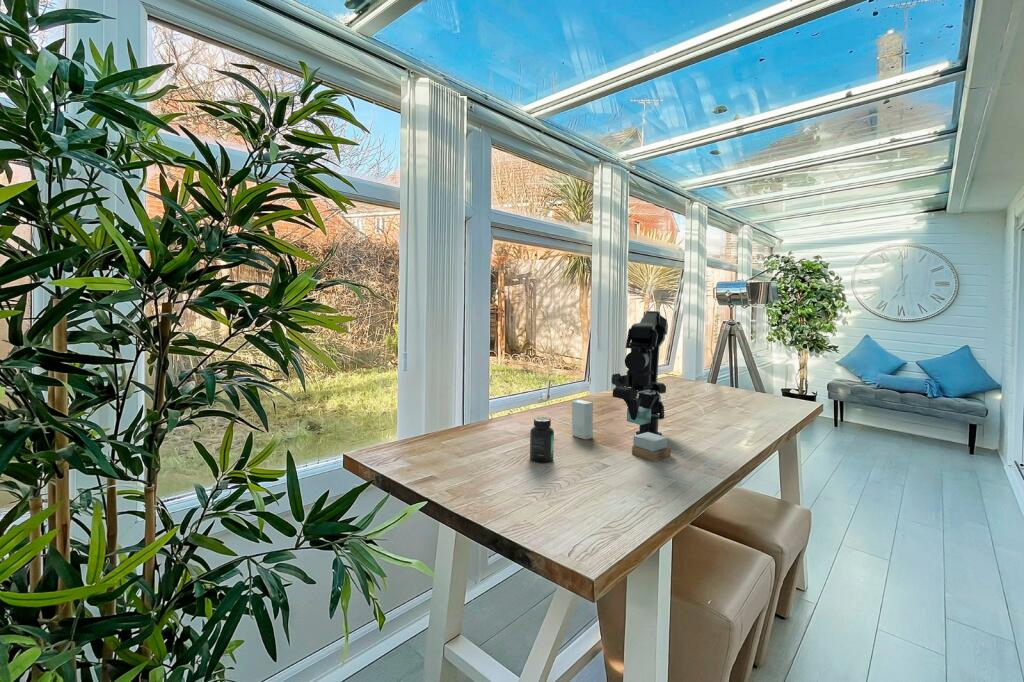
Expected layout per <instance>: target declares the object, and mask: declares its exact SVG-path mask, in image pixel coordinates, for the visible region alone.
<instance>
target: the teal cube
mask: <svg viewBox="0 0 1024 682" xmlns="http://www.w3.org/2000/svg"><path fill="white" fill-rule="evenodd" d="M626 422H628V423H630V424H636V425H639V426H640V425H643V424H646V423H650V422H651V409H648V408H644V407H639V409H638V413H637V416H636V419H635V420H632V419H631V416H630V413H629V410H628V407H627V409H626Z"/></svg>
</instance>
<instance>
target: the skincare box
mask: <svg viewBox="0 0 1024 682" xmlns="http://www.w3.org/2000/svg"><path fill="white" fill-rule="evenodd" d="M593 417H594V404H593V402H591V401H588V400H583V399H577V400H576V399H575V400H573V401H571V431H572V432H571V435H572V436H573V437H575V438H580V439H582V440H590V439H592V438H593V436H594V433H593V432H594V427H593V426H594V423H593V422H594V419H593Z"/></svg>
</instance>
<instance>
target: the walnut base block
mask: <svg viewBox="0 0 1024 682" xmlns="http://www.w3.org/2000/svg"><path fill="white" fill-rule="evenodd" d="M671 453H672V447H671V446H667V447H666V448H663V449H660V450H657V451H654V452H652V451H649V450H646V449H643V448H640V447H636V446H633V445H632V446H631V455H633V456H636V457H638V458H642V459H645V460H648V461H651V462H655V463H656V462H658V461H661V460H663V459H667V458H670V457H671V455H672V454H671Z"/></svg>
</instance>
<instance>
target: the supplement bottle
mask: <svg viewBox="0 0 1024 682" xmlns="http://www.w3.org/2000/svg"><path fill="white" fill-rule="evenodd" d="M551 421H552V420H551V418H550V417H547V416H545V417H544V416H538V417H534V419H533V427H531V429H530V432H529V459H530V461H531V462H534V463H535V464H549V463H551V462H552V461H554V447H555V442H554V441H555V432H554V431H555V430H554V428H552V427H551V426H552V425H551V423H552V422H551Z"/></svg>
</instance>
